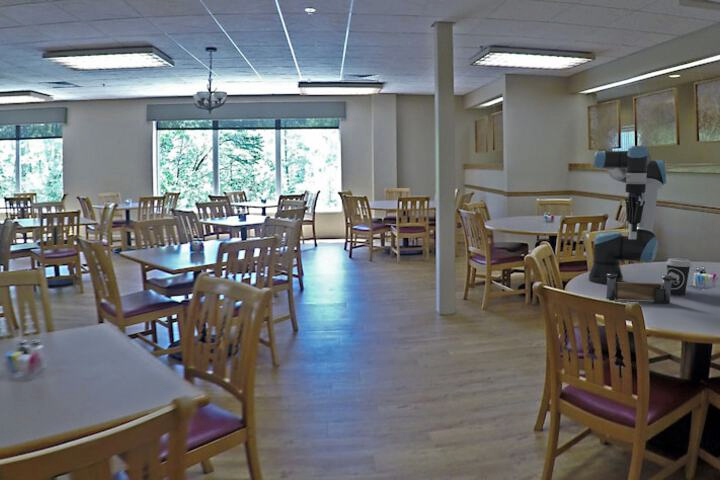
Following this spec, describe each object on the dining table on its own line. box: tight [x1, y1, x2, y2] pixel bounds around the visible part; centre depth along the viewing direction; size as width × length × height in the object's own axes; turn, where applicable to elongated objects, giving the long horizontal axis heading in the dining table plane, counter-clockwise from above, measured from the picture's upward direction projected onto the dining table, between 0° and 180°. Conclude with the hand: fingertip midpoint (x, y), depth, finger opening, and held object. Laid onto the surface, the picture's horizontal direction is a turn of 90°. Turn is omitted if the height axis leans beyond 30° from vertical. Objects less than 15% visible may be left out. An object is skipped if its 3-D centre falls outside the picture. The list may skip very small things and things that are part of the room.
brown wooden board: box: [615, 281, 662, 302], centre depth 229 cm, size 2×17×7 cm, turn 76°
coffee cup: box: [665, 257, 692, 297], centre depth 239 cm, size 10×10×15 cm
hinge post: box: [605, 273, 617, 301], centre depth 231 cm, size 4×4×11 cm
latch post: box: [653, 274, 673, 305], centre depth 226 cm, size 5×7×11 cm
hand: (632, 238), depth 235 cm, fingers closed
